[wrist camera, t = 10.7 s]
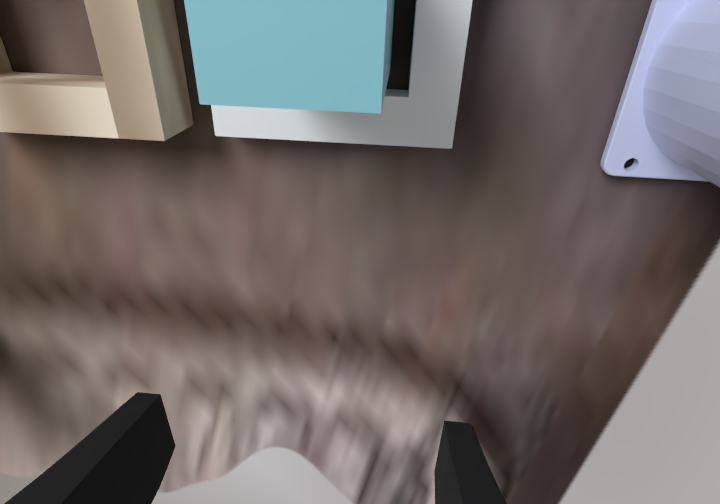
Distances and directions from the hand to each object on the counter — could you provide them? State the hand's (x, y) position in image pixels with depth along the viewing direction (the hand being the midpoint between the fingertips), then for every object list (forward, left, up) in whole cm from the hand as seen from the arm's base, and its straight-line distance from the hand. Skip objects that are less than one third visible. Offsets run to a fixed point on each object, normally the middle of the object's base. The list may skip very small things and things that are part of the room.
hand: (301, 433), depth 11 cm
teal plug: (+1, -10, -10) cm, 14 cm away
